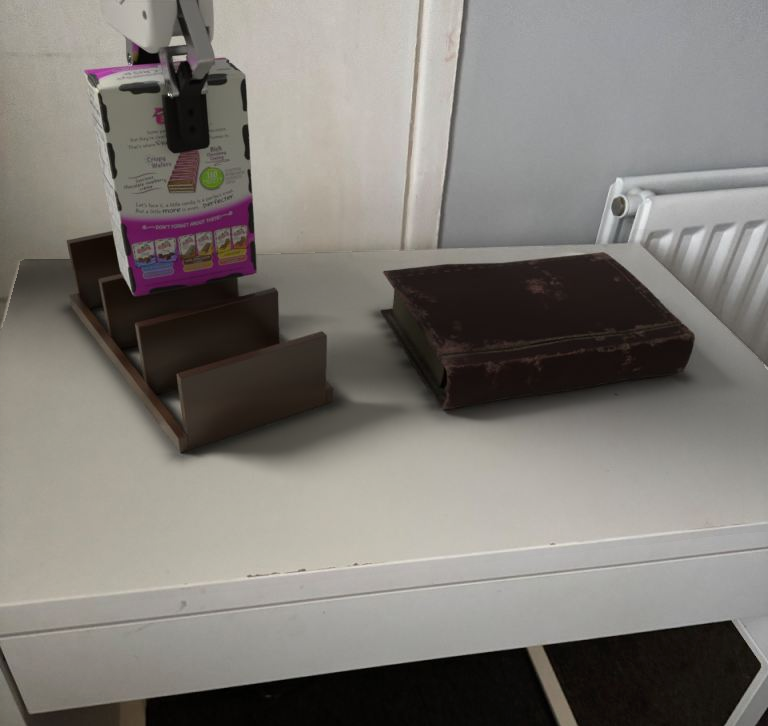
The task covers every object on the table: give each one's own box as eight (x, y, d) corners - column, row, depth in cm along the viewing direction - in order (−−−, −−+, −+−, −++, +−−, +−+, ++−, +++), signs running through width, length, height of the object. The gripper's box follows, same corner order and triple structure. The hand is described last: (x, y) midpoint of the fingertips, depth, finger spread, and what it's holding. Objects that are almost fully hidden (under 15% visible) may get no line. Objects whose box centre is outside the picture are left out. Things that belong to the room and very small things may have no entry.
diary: (684, 380, 80) (701, 335, 77) (444, 418, 73) (450, 370, 70) (589, 286, 93) (601, 243, 89) (377, 311, 86) (380, 266, 82)
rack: (72, 308, 82) (57, 241, 78) (207, 275, 89) (202, 212, 84) (180, 453, 68) (170, 381, 63) (333, 401, 74) (335, 333, 69)
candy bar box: (238, 251, 76) (227, 54, 65) (258, 276, 73) (250, 74, 62) (115, 271, 72) (80, 65, 61) (131, 299, 69) (97, 87, 58)
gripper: (37, -181, 55) (86, 107, 68) (136, -144, 46) (172, 185, 58) (144, -178, 59) (172, 96, 71) (258, -143, 49) (268, 168, 61)
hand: (172, 133), depth 65 cm, fingers closed on candy bar box, 5 cm apart
